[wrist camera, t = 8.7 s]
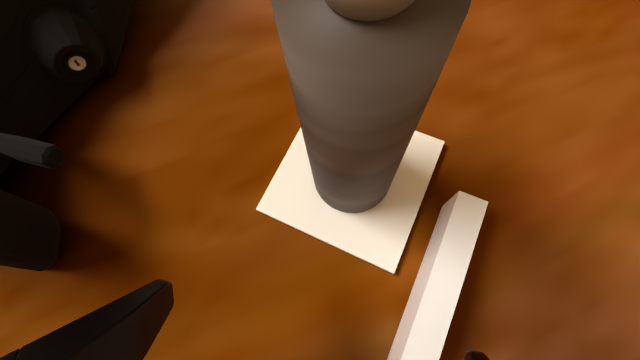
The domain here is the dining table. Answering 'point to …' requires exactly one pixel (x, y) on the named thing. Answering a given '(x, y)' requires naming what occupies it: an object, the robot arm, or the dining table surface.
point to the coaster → (354, 228)
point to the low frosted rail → (439, 280)
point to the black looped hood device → (46, 101)
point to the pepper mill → (363, 85)
